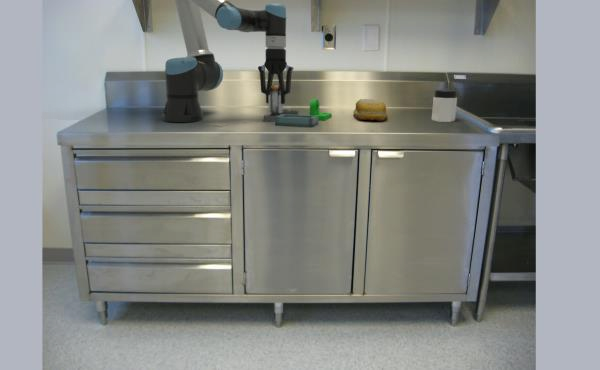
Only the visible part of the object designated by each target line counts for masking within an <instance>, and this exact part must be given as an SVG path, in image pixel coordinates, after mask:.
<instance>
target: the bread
mask: <svg viewBox="0 0 600 370" xmlns="http://www.w3.org/2000/svg"><path fill="white" fill-rule="evenodd" d="M352 112H353V115H354V116H355V118H356V119H358V121H362V120H363V121H377V122H382V121H385V120H386V119H387V117H388V111H387V105H386V103H385V102H384V101H382V100H379V99H373V98H361V99H358V100H357V101H356V102H355V109H354V110H353V111H352Z"/></svg>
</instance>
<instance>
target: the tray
mask: <svg viewBox="0 0 600 370" xmlns="http://www.w3.org/2000/svg"><path fill="white" fill-rule="evenodd" d="M274 123H275V124H274V126H280V127H282V126H284V127H297V128H299V127H301V128H302V127H303V128H314V127H315V126H317V125H319V121H318V116H313V115H310V114H308V115H307V114H298V115H291V114H282V115H279V116H276V117H275V122H274Z"/></svg>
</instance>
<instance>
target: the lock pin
mask: <svg viewBox="0 0 600 370" xmlns="http://www.w3.org/2000/svg"><path fill="white" fill-rule="evenodd" d="M270 89H271V94H270V95H271V113H270V114H271V116H279V115H280V113H279V95H280V94H281V93H280V87H279V85H276V84H275V85H273V84H272V86H270Z"/></svg>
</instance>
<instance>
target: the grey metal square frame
mask: <svg viewBox="0 0 600 370" xmlns="http://www.w3.org/2000/svg"><path fill="white" fill-rule="evenodd" d="M280 115H282V114H280ZM275 117H276V116H271V113H268V114H265V115H263V122H274V123H275Z"/></svg>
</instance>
